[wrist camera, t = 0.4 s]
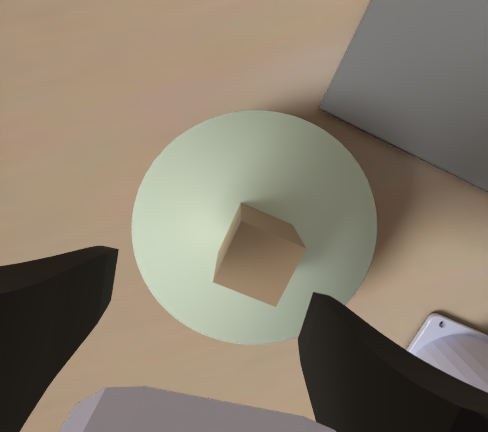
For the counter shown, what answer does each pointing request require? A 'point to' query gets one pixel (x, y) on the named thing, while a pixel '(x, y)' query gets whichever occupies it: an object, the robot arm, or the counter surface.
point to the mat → (420, 82)
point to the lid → (253, 225)
